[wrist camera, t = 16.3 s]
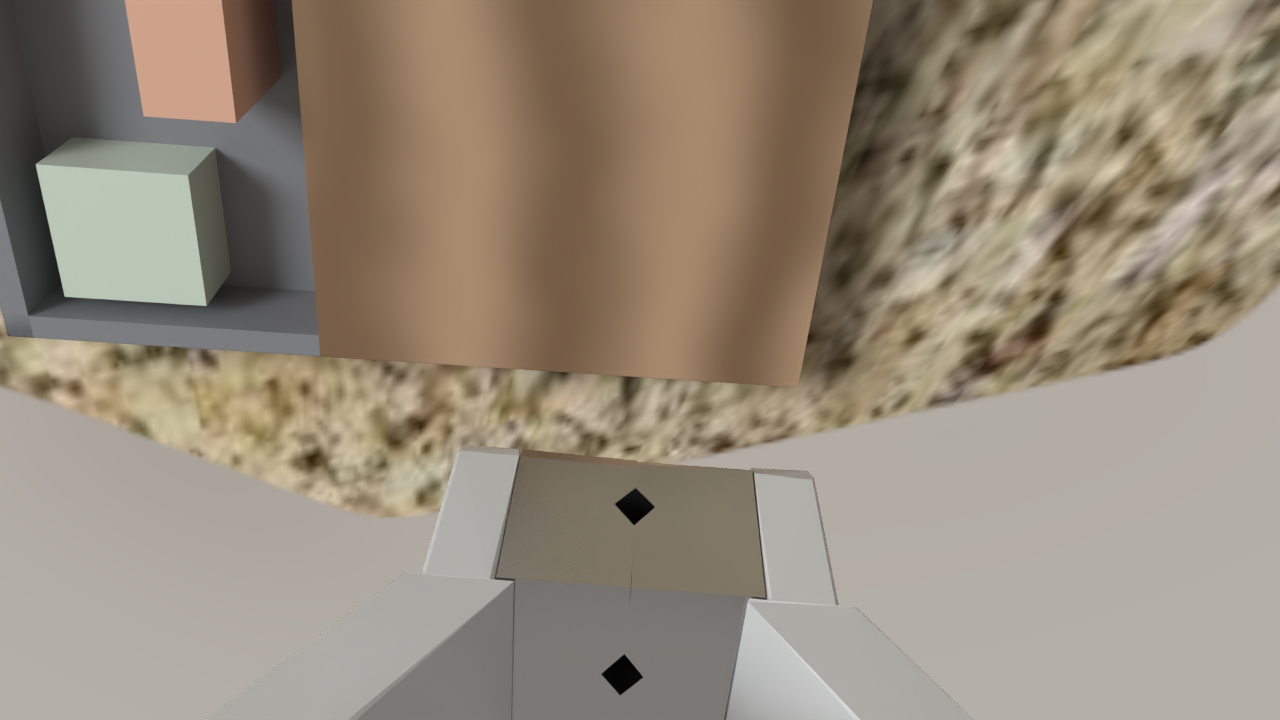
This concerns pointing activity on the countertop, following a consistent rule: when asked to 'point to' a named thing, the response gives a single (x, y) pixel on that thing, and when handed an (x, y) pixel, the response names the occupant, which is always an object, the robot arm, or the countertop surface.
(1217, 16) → the countertop surface
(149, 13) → the tile terracotta
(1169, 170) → the countertop surface
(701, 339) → the board
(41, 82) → the tray
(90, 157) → the tile sage
